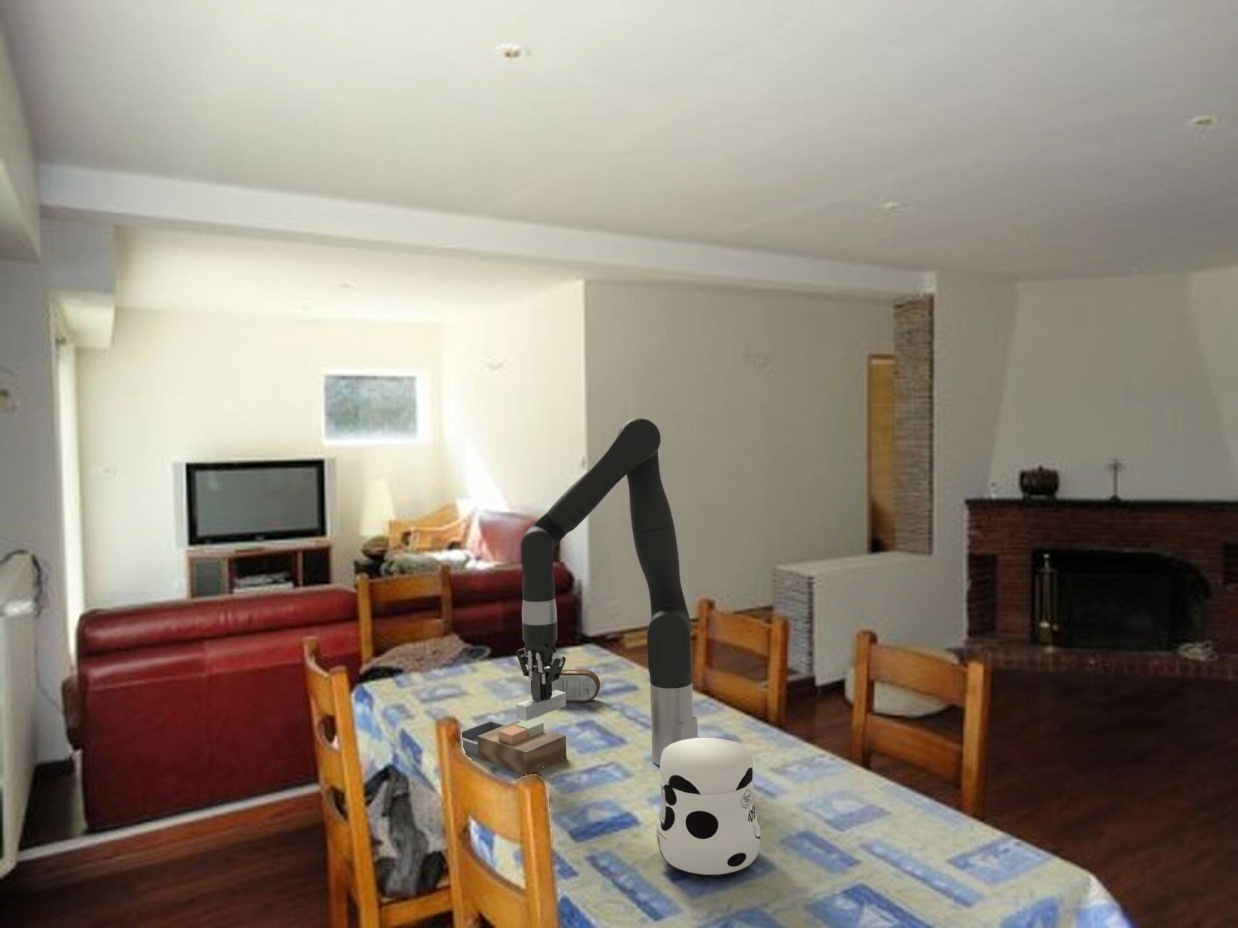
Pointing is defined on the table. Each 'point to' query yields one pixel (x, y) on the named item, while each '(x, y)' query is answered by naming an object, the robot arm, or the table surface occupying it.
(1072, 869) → the table surface
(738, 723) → the table surface
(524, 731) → the peach flat block
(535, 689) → the scraper
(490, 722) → the tray
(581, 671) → the tin
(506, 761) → the walnut block
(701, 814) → the milk container
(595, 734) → the table surface
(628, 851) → the table surface
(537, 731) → the sage tile
